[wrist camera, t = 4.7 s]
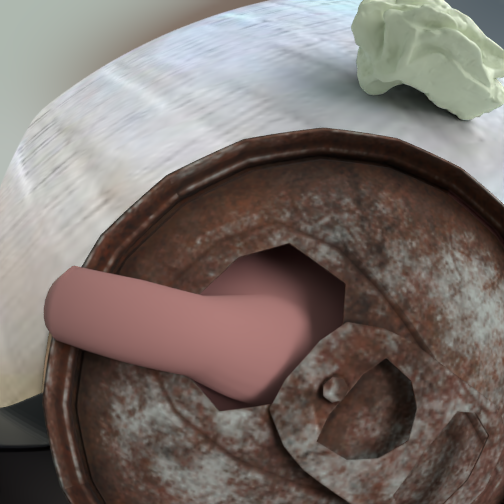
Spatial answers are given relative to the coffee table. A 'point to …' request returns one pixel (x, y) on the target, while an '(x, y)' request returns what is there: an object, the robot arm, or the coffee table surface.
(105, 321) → the can
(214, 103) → the coffee table surface
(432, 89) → the wavy plaster lump
